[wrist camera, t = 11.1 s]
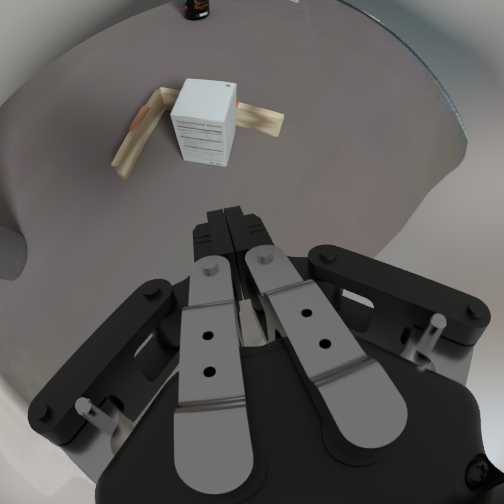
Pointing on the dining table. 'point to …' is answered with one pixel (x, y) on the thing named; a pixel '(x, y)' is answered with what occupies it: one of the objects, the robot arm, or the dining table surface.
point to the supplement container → (196, 9)
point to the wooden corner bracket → (166, 101)
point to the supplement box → (205, 120)
